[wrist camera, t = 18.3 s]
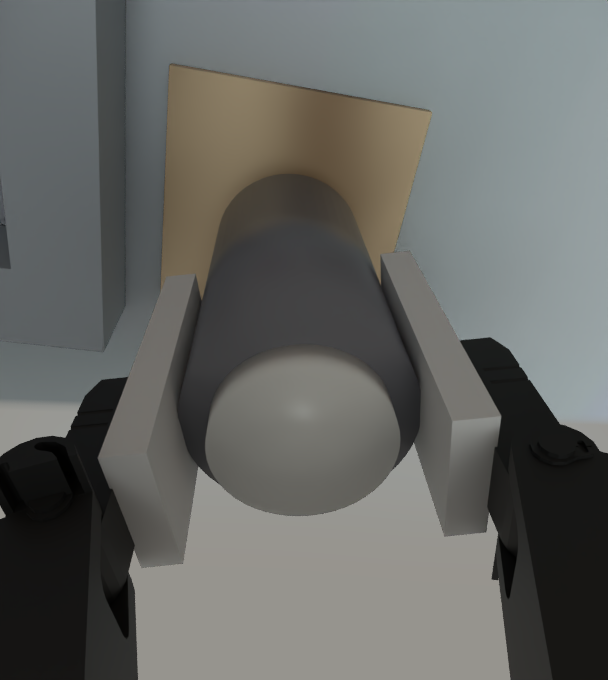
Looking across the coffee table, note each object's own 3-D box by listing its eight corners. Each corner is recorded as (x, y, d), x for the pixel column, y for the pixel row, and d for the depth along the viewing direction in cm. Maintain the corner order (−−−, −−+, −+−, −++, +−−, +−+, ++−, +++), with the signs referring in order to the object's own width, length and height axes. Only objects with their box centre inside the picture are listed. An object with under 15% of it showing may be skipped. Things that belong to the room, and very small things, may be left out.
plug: (211, 297, 19) (165, 526, 11) (224, 162, 17) (178, 322, 9) (342, 314, 20) (395, 543, 12) (373, 186, 18) (468, 357, 9)
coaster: (161, 300, 23) (159, 306, 22) (171, 63, 18) (169, 64, 18) (370, 326, 24) (372, 331, 24) (428, 110, 19) (432, 112, 19)
